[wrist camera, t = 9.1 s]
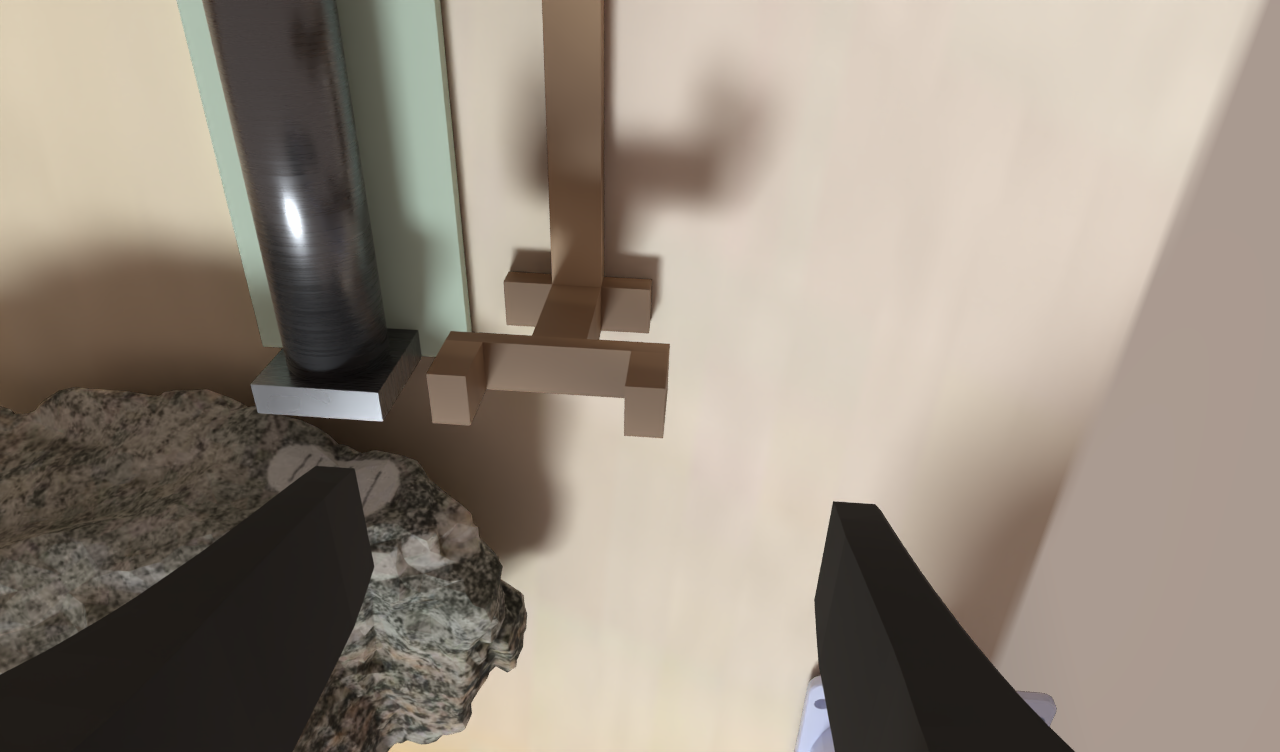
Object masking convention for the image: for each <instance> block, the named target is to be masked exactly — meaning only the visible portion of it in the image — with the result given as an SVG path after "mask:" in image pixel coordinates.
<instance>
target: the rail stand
mask: <svg viewBox="0 0 1280 752" xmlns="http://www.w3.org/2000/svg"><path fill="white" fill-rule="evenodd" d="M542 14H543V42H544V70H545V98H546V126H547V154H548V181H549V209H550V237H551V265H552V274H544V273H526V272H508V274H507V276H506V278H505V280H504V293H505V308H506V322H507V325H516V326H533V327H535V330H534V332H533V335H532V336H526V335H509V334H492V333H475V332H459V331H450V333H449V335H448V336H447V338H446V340H445V342H444V343H443V345H442V347H441V349H440V350H439V352H438V354H437V356H436V357H435V359H434V361H433V363H432V364H431V366H430V368H429V370H428V371H427V373H426V377H427V385H428V392H429V400H430V407H431V415H432V422H433V423H439V424H455V425H470V426H471V423H472V421H473V419H474V416H475V414H476V412H477V410H478V407H479V405H480V403H481V401H482V398H483V396H484V394H485V391H486V389H490V390H506V391H522V392H538V393H554V394H570V395H585V396H601V397H617V398H625V411H624V436H638V437H653V438H663V433H664V422H665V411H666V401H667V389H668V369H669V348H670V344H661V343H644V342H627V341H610V340H599V337H600V333H601V331H618V332H636V333H649V328H650V318H651V289H652V279H635V278H617V277H604V0H542Z"/></svg>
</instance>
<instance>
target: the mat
mask: <svg viewBox="0 0 1280 752" xmlns="http://www.w3.org/2000/svg"><path fill="white" fill-rule="evenodd" d="M336 3H337V9H338V16H339V22H340V29H341V35H342V42H343V48H344V55H345V61H346V68H347V74H348V81H349V87H350V93H351V100H352V106H353V113H354V119H355V126H356V132H357V139H358V145H359V152H360V158H361V165H362V171H363V178H364V184H365V191H366V197H367V203H368V210H369V216H370V223H371V229H372V236H373V242H374V249H375V255H376V262H377V268H378V275H379V281H380V288H381V294H382V301H383V307H384V314H385V320H386V326H387V328H392V329H409V330H418V332H419V339H420V347H421V354H422V356H426V357H436V356H437V354H438V352H439V350H440V349H441V347H442V345H443V343H444V342H445V340H446V338H447V336H448V335H449V333H450V331H459V332H472V329H471V319H470V308H469V298H468V287H467V277H466V266H465V256H464V245H463V235H462V224H461V214H460V204H459V193H458V183H457V172H456V162H455V151H454V141H453V130H452V120H451V109H450V99H449V89H448V78H447V68H446V57H445V47H444V36H443V26H442V15H441V5H440V0H336ZM177 4H178V8H179V12H180V16H181V20H182V24H183V28H184V32H185V36H186V40H187V44H188V48H189V52H190V56H191V60H192V64H193V68H194V72H195V76H196V80H197V84H198V88H199V92H200V96H201V100H202V104H203V108H204V112H205V116H206V120H207V124H208V128H209V132H210V136H211V140H212V144H213V148H214V152H215V156H216V160H217V164H218V168H219V172H220V176H221V180H222V184H223V188H224V192H225V196H226V200H227V204H228V208H229V212H230V216H231V220H232V224H233V228H234V232H235V236H236V240H237V244H238V248H239V252H240V256H241V260H242V264H243V268H244V272H245V276H246V280H247V284H248V288H249V292H250V296H251V300H252V304H253V308H254V312H255V316H256V320H257V324H258V328H259V332H260V336H261V340H262V344H263V347H279V348H283V346H282V342H281V337H280V333H279V329H278V325H277V320H276V316H275V312H274V307H273V303H272V299H271V294H270V290H269V286H268V282H267V277H266V273H265V269H264V264H263V260H262V256H261V252H260V247H259V243H258V239H257V234H256V230H255V226H254V222H253V217H252V213H251V209H250V204H249V200H248V196H247V192H246V187H245V183H244V179H243V174H242V170H241V166H240V162H239V157H238V153H237V149H236V144H235V140H234V136H233V131H232V127H231V123H230V119H229V114H228V110H227V106H226V101H225V97H224V93H223V89H222V84H221V80H220V76H219V71H218V67H217V63H216V59H215V54H214V50H213V46H212V41H211V37H210V33H209V29H208V24H207V20H206V16H205V11H204V7H203V3H202V0H177Z"/></svg>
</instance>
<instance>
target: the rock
mask: <svg viewBox="0 0 1280 752" xmlns="http://www.w3.org/2000/svg"><path fill="white" fill-rule="evenodd" d="M315 466H327V467H341V468H355V472H356V477H357V482H358V487H359V492H360V497H361V502H362V507H363V512H364V517H365V522H366V527H367V532H368V537H369V542H370V547H371V552H372V557H373V562H374V570H373V573H372V576H371V579H370V582H369V586H368V589H367V592H366V595H365V598H364V601H363V604H362V606H361V609H360V612H359V615H358V618H357V620H356V623H355V626H354V629H353V631H352V633H351V635H350V637H349V639H348V641H347V643H346V645H345V647H344V649H343V651H342V654H341V656H340V658H339V660H338V662H337V664H336V666H335V668H334V670H333V672H332V674H331V676H330V678H329V680H328V682H327V684H326V686H325V688H324V690H323V692H322V694H321V696H320V698H319V700H318V702H317V704H316V706H315V708H314V710H313V712H312V714H311V716H310V718H309V720H308V722H307V724H306V726H305V728H304V730H303V732H302V734H301V736H300V738H299V740H298V742H297V744H296V746H295V748H294V750H293V752H388V751H389V749H390V748H391V747H392V746H393V745H394V744H395V743H403V742H405V741H407V740H409V741H412V742H415V743H419V744H429V743H432V742H435V741H437V740H438V739H439V738H440V737H441V736H442V735H450V734H454V733H457V732H461V731H463V730H464V729H465V728H466V726H467V723H468V721H469V719H470V716H471V714H472V710H471V702H472V701H473V699H474V697H475V696H476V694H477V692H478V691H479V689H480V688H481V686H482V685H483V684H484V682H485V681H486V679H487V678H488V675H489V672H490V671H491V670H492V669H493V668H494V667H495V666H497V667H498V668H500V669H502V670H504V671H506V672H509V671H510V670H512V669H513V668H515V667H516V663H517V659H518V656H519V654H520V652H521V650H522V648H523V635H524V632H525V630H526V621H527V612H526V609H525V605H524V595H523V594H522V593H521V592H519V591H518V590H516V589H515V588H513V587H512V586H510V585H509V584H507V583H506V582H504V581H503V580H501V572H502V565H501V564H500V562H499V558H498V556H497V555H496V554H495V553H494V552H493V551H492V550H491V549H490V547H489V546H488V545H487V544H486V543H485V542H483V541H482V540H481V538H480V537H479V531H478V527H477V526H476V525H474V524H473V519H472V514H471V513H470V512H469V511H468V510H467V509H466V508H465V507H464V506H463V505H461V504H460V503H459V502H457V501H456V500H455V499H453V498H452V497H451V496H449V495H448V494H447V493H445V492H444V491H443V490H442V489H440V488H439V487H438V486H437V485H436V484H435V483H433V482H432V481H431V480H430V479H429V478H428V476H427V475H426V473H425V471H424V470H423V468H422V466H421V465H420V464H419V463H418V462H417V461H416V460H413V459H411V458H408V457H405V456H402V455H397V454H392V453H387V452H382V451H378V450H372V451H369V452H365V453H360V452H357V451H356V450H354V449H352V448H351V447H349V446H347V445H342V444H337V442H336V441H335V440H334V439H333V438H332V437H331V436H329V435H328V434H326V433H325V432H323V431H322V430H321V429H319V428H317V427H315V426H313V425H311V424H309V423H306V422H304V421H302V420H298V419H294V418H290V417H286V416H283V415H279V414H264V413H258V412H257V408H256V406H252V407H247V406H245V405H244V404H242V403H240V402H238V401H236V400H234V399H232V398H229V397H227V396H224V395H221V394H219V393H216V392H214V391H211V390H208V389H202V390H191V391H184V390H174V391H169V392H164V393H162V394H161V395H159V396H153V395H146V394H140V393H134V392H128V391H117V390H105V389H86V388H79V387H73V388H69V389H65V390H61V391H58V392H57V393H55V394H54V395H52V396H51V397H49V398H47V399H46V400H44V401H43V402H42V403H41V404H40V405H39V406H38V407H37V409H36V410H35V411H33V412H30V413H26V414H15V413H14V412H13V411H12V410H11V409H7V408H4V407H1V406H0V674H2V673H4V672H6V671H8V670H10V669H12V668H14V667H16V666H18V665H20V664H22V663H23V662H25V661H27V660H29V659H31V658H33V657H35V656H37V655H39V654H41V653H43V652H45V651H46V650H48V649H50V648H52V647H54V646H55V645H57V644H59V643H61V642H63V641H64V640H66V639H68V638H69V637H71V636H73V635H74V634H76V633H78V632H80V631H81V630H83V629H85V628H86V627H88V626H90V625H91V624H93V623H95V622H97V621H98V620H100V619H102V618H103V617H105V616H106V615H108V614H110V613H111V612H113V611H115V610H116V609H118V608H119V607H121V606H123V605H124V604H126V603H127V602H129V601H130V600H132V599H133V598H135V597H137V596H138V595H139V594H141V593H142V592H144V591H145V590H147V589H148V588H150V587H151V586H153V585H154V584H155V583H157V582H158V581H160V580H161V579H163V578H164V577H166V576H167V575H169V574H170V573H171V572H173V571H174V570H176V569H177V568H179V567H180V566H182V565H183V564H184V563H186V562H187V561H189V560H190V559H192V558H193V557H195V556H196V555H198V554H199V553H200V552H202V551H203V550H204V549H206V548H207V547H209V546H210V545H211V544H213V543H214V542H215V541H217V540H218V539H219V538H221V537H222V536H223V535H225V534H226V533H227V532H229V531H230V530H231V529H233V528H234V527H235V526H237V525H238V524H239V523H241V522H242V521H243V520H245V519H246V518H247V517H249V516H250V515H251V514H252V513H254V512H255V511H256V510H258V509H259V508H260V507H262V506H263V505H264V504H265V503H267V502H268V501H269V500H271V499H272V498H273V497H275V496H276V495H277V494H278V493H280V492H281V491H282V490H284V489H285V488H286V487H288V486H289V485H290V484H292V483H293V482H294V481H296V480H297V479H298V478H300V477H301V476H302V475H304V474H305V473H306V472H308V471H309V470H311V469H312V468H313V467H315Z"/></svg>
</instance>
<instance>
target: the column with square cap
mask: <svg viewBox="0 0 1280 752" xmlns="http://www.w3.org/2000/svg"><path fill="white" fill-rule="evenodd" d="M202 3H203V7H204V11H205V16H206V20H207V24H208V29H209V33H210V37H211V41H212V46H213V50H214V54H215V59H216V63H217V67H218V71H219V76H220V80H221V84H222V89H223V93H224V97H225V101H226V106H227V110H228V114H229V119H230V123H231V127H232V131H233V136H234V140H235V144H236V149H237V153H238V157H239V162H240V166H241V170H242V174H243V179H244V183H245V187H246V192H247V196H248V200H249V204H250V209H251V213H252V217H253V222H254V226H255V230H256V234H257V239H258V243H259V247H260V252H261V256H262V260H263V264H264V269H265V273H266V277H267V282H268V286H269V290H270V294H271V299H272V303H273V307H274V312H275V316H276V320H277V325H278V329H279V333H280V337H281V342H282V346H283V349H282V350H281V351H280V352H279V353H278V354H277V355H276V356H275V358H274V359H273V360H272V361H271V362H270V363H269V364H268V365H267V366H266V368H265V369H264V370H263V371H262V372H261V373H260V374H259V375H258V376H257V378H256V379H255V380H254V381H253V382H252V383H251V384H250V385H251V389H252V393H253V396H254V400H255V404H256V408H257V412H258V413H264V414H279V415H293V416H308V417H323V418H338V419H353V420H367V421H382V422H383V421H384V419H385V417H386V416H387V414H388V412H389V411H390V409H391V407H392V406H393V404H394V402H395V401H396V399H397V397H398V396H399V394H400V392H401V391H402V389H403V387H404V386H405V384H406V382H407V381H408V379H409V377H410V376H411V374H412V372H413V371H414V369H415V367H416V366H417V364H418V362H419V361H420V359H421V357H422V354H421V347H420V339H419V332H418V330H409V329H392V328H387V326H386V320H385V314H384V307H383V301H382V294H381V288H380V281H379V275H378V268H377V262H376V255H375V249H374V242H373V236H372V229H371V223H370V216H369V210H368V203H367V197H366V191H365V184H364V178H363V171H362V165H361V158H360V152H359V145H358V139H357V132H356V126H355V119H354V113H353V106H352V100H351V93H350V87H349V81H348V74H347V68H346V61H345V55H344V48H343V42H342V35H341V29H340V22H339V16H338V9H337V3H336V0H202Z"/></svg>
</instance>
